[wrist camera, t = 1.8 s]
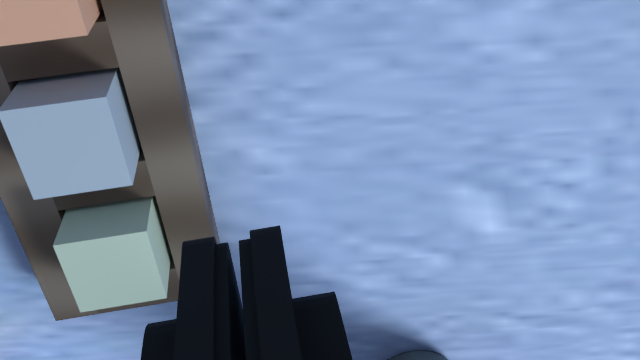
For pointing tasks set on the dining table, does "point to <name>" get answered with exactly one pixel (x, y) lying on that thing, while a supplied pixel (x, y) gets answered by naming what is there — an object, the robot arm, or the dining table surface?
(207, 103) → the dining table surface
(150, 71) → the console
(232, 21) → the dining table surface
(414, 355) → the bottle
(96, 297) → the sage button
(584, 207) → the dining table surface
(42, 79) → the slate button
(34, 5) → the terracotta button
